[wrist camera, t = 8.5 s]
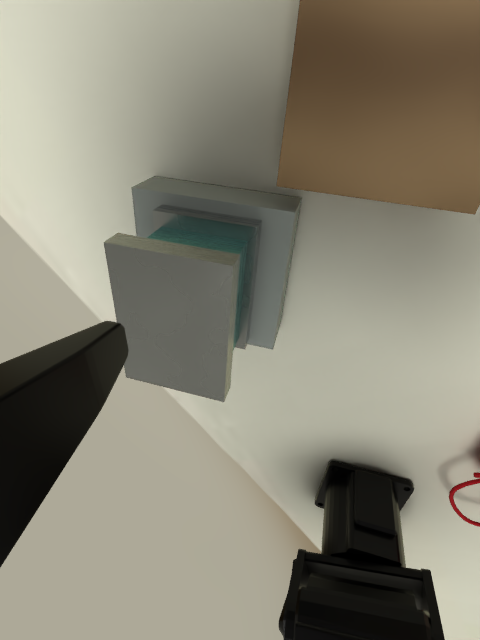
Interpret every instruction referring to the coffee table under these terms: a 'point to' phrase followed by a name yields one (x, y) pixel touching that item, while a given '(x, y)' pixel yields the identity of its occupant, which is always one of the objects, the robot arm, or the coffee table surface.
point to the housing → (185, 297)
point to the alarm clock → (459, 486)
